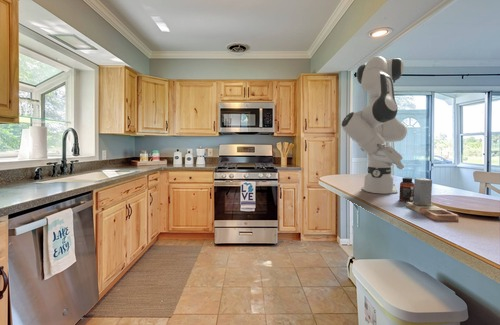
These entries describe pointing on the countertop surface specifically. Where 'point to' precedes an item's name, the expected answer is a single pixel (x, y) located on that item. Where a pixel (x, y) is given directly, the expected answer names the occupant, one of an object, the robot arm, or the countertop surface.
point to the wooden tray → (434, 212)
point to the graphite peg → (422, 192)
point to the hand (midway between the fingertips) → (396, 166)
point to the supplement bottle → (406, 190)
